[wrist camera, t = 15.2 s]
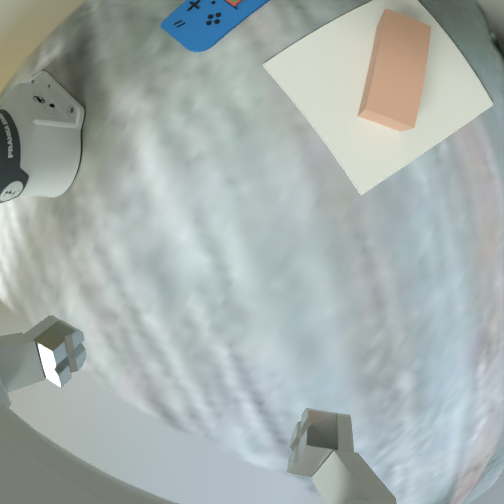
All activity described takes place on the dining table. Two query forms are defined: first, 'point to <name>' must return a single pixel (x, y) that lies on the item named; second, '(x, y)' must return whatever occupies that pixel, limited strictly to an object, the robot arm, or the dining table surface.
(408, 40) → the terracotta block
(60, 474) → the robot arm
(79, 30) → the dining table surface
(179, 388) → the dining table surface
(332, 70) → the white mat
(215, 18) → the handheld gaming device
